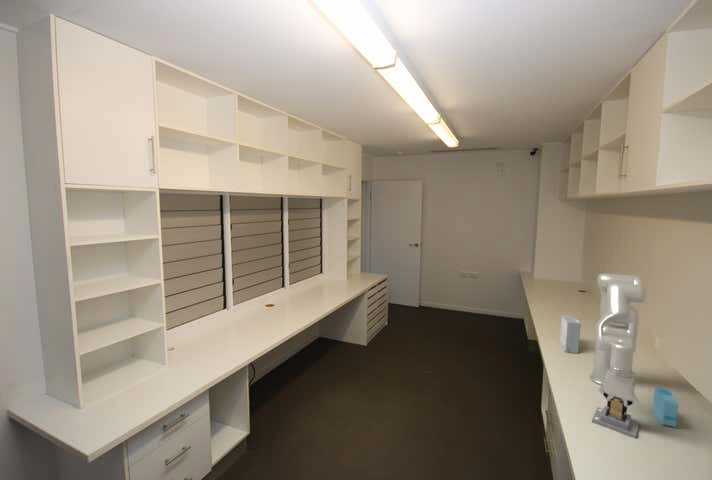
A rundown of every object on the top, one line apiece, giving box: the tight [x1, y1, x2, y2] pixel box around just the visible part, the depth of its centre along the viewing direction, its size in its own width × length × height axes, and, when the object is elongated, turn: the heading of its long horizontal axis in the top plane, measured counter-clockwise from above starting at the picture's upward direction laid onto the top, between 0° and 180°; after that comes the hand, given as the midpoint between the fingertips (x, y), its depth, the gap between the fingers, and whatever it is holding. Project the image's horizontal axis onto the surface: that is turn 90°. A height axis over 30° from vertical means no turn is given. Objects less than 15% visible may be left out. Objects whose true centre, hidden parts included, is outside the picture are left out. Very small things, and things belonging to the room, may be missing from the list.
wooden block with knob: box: [610, 396, 624, 420], centre depth 149 cm, size 4×4×8 cm
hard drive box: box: [559, 314, 582, 354], centre depth 225 cm, size 16×8×20 cm, turn 161°
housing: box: [591, 405, 640, 439], centre depth 150 cm, size 13×15×4 cm
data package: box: [651, 387, 679, 428], centre depth 152 cm, size 12×4×12 cm, turn 156°
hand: (616, 410), depth 150 cm, fingers closed on wooden block with knob, 4 cm apart
